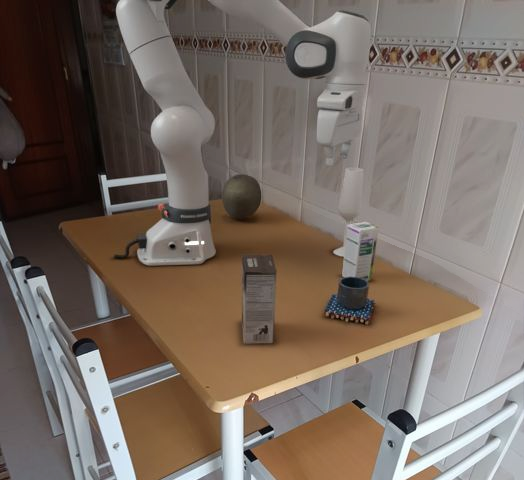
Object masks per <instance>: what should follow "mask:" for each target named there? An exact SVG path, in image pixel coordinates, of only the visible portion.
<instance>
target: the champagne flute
mask: <svg viewBox="0 0 524 480" xmlns="http://www.w3.org/2000/svg"><path fill="white" fill-rule="evenodd" d="M341 186H342V187H341V192H340V196H339V201H338V206H337V211H338V213H339V215H340V216H341V217H342V219H343V220H344V221H345V227H344V235H343V236H344V237H343V245H342V246H341V247H338V248H336V249H334V250H333V251H332V252H333V254H334V255H336V256H338V257H343V258H344V252H345V242H346V233H347V225H348V224H351V221H353V220H355V219H356V218H357V217H358V216H359V215H360V214H361V213H362V210H363V209H362V208H363V190H364V189H363V187H364V168H360V167H346V168H345V172H344V176H343V182H342V185H341Z"/></svg>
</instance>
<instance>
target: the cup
mask: <svg viewBox="0 0 524 480" xmlns="http://www.w3.org/2000/svg"><path fill="white" fill-rule="evenodd" d="M369 290H370V282H369V281H366V280H365V279H362V278H358V277H342V278H340V279H339V280H338V286H337V293H336V294H337V302H338V303H339V305H340V306H341V307H343V308H345V309H350V310H358V309H361V308H363V307H364V306H365V305H366V303H367V299H368V298H369V297H368V296H369Z"/></svg>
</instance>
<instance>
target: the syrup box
mask: <svg viewBox="0 0 524 480" xmlns="http://www.w3.org/2000/svg"><path fill="white" fill-rule="evenodd" d="M378 235H379V227H378V226H377V225H375V224H373V223H371V222H369V221H363V222H356V223H350V224H348V225H347V233H346V242H345V252H344V257H343V262H342V271H341V276H342V278H344V277H358V278H362V279H365V280H366V281H368V282H369V281H372V277H373V269H374V263H375V256H376V249H377V242H378V237H379V236H378Z"/></svg>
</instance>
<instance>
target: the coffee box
mask: <svg viewBox="0 0 524 480" xmlns="http://www.w3.org/2000/svg"><path fill="white" fill-rule="evenodd" d="M277 276H278V272H277V268H276V264H275V261H274V258H273V255H272V254H260V253H259V254H257V253H256V254H255V253H254V254H253V253H252V254H248V253H247V254H246V253H245V254H241V327H242V337H243V338H242V339H243V344H244V345H245V344H273V343H274V334H275V333H274V332H275V316H276V299H277V298H276V295H277Z"/></svg>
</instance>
